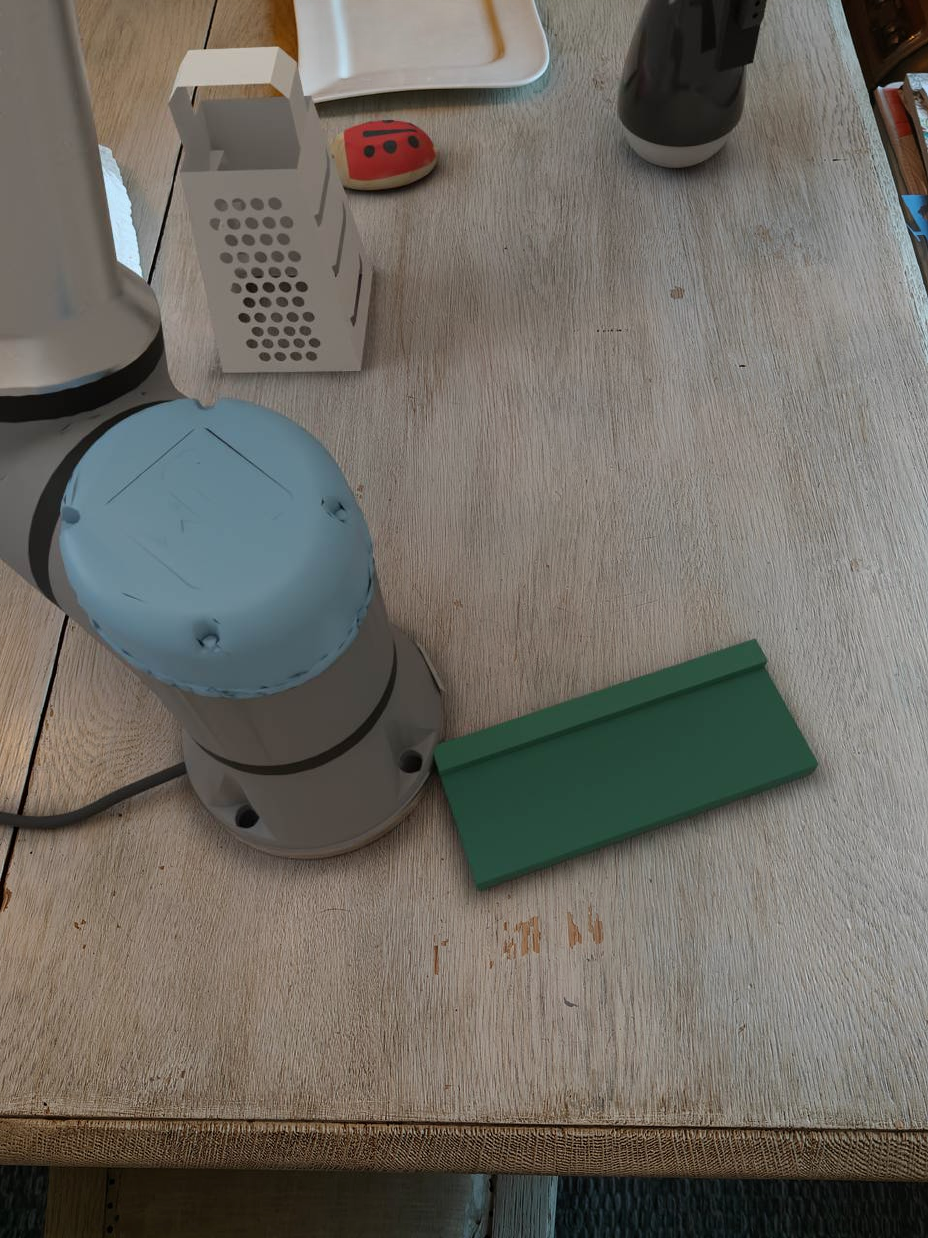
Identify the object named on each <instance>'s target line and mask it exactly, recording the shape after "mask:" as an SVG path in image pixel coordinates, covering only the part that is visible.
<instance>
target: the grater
mask: <svg viewBox="0 0 928 1238" xmlns="http://www.w3.org/2000/svg"><path fill="white" fill-rule="evenodd" d="M179 65H180V66H178V67H179V68H178V70H177V74H176V77H175V80H174V84H173V87H172V90H171V93H170V96H169V100H168V102H167V104H168V105H167V106H168V108H169V111H170V114H171V116H172V119H173V122H174V125H175V128H176V130H177V134H178V136H179V138H180V142H181V145H182V148H183V151H184V157H183V160H182V164H181V166H180V171H179V175H180V180H181V183H182V184H181V185H182V188H183V192H184V197H185V203H186V207H187V212H188V216H189V221H190V226H191V231H192V234H193V240H194V245H195V249H196V253H197V259H198V263H199V269H200V272H201V277H202V281H203V287H204V291H205V296H206V300H207V305H208V309H209V313H210V314H209V315H210V319H211V323H212V328H213V334H214V337H215V342H216V347H217V352H218V356H219V361H220V366H221V370H222V374H236V373H237V374H244V373H245V374H247V373H251V374H252V373H307V372H308V373H309V372H310V373H312V372H313V373H314V372H315V373H316V372H317V373H319V372H320V373H321V372H361V371H362V364H363V363H362V362H363V356H364V355H363V354H364V348H365V339H366V331H367V325H368V324H367V323H368V315H369V308H370V299H371V292H372V284H373V275H374V272H373V269H372V266H371V263H370V260H369V258H368V254H367V252H366V249H365V246H364V243H363V241H362V238H361V234H360V231H359V228H358V225H357V223H356V221H355V217H354V214H353V211H352V208H351V206H350V203H349V200H348V197H347V195H346V191H345V187H344V186H343V185H342V183H341V180H340V177H339V174H338V171H337V168H336V165H335V162H334V160H333V157H332V154H331V151H330V148H329V147H330V145H329V143H328V139H327V137H326V134H325V132H324V131H325V130H324V129H323V125H322V121H321V119H320V117H319V114H318V111H317V108H316V105H315V103H314V99H313V97H312V95H304V89H303V85H302V80H301V75H300V71H299V66H298V62H297V61H296V60H295V59H293V57H292V56H290V55H289V54H288V53H286V52H285V51H284V50H283V49H282V48H281V46H259V47H258V46H256V47H233V48H210V49H209V48H206V49H188V51H187V52H186V55H185V56H184V58H183V60H182V62H181V64H179ZM259 84H261V85H263V84H270V85H272V87H274V88H275V89H276V90H277V91H279V92H280V93H281V94H282V95H283V96H268V97H267V96H266V97H263V96H262V97H240V98H239V97H237V98H236V97H235V98H213V99H212V98H211V99H207V98H206V99H200V101H199V105H198V109H197V112H196V114H195V110H194V107H193V104H192V101H191V98H190V96H189V95H190V94H189V92H188V89H187V87H207V86H234V85H259ZM220 223H222V228H221V229H219V228H220V225H221V224H220ZM360 274H361V283H360V289H359V298H358V304H357V310H356V311H357V312H356V319H355V323H354V325H353V322H352V319H351V318H352V317H353V316H354V315H355V308H356V300H357V292H358V285H359V276H360ZM288 275H289V276H288ZM290 275H293V276H294V275H295V276H294V277H291V276H290ZM255 276H262V277H259V278H258V277H255ZM273 276H279V277H273ZM284 282H285V283H287V284H289V285H290V289H291V290H290V291H287V292H285V291H282V290H281V289H280V284H281V283H284ZM299 282H303V283H305V284H306V286H307V290H306V291H299V290H298V289H297V288H296V284H297V283H299ZM250 283H252V284H254V285H255V286H257V291H256V292H250V291H249V290H248V289H247V287H246V285H247V284H250ZM265 283H270V284H272V285H273V286H274V291H273V292H267V291H266V290H265V289H264V288H263V286H264V284H265ZM230 285H231V287H230ZM295 297H299V298H301V299H302V300H303V302H304V304H302V306H297V305H296V304H294V303H293V299H294V298H295ZM246 298H250V299H252V300H253V301H254V302H255V305H254V306H253V307H248V306H246V305H245V303H244V300H245V299H246ZM261 298H267V299H269V301H270V302H271V305H270V306H268V307H266V306H263V305H261V303H260V299H261ZM278 298H284V299H286V300H287V302H288V304H287V305H286V306H280V305H279V304H278V303H277V299H278ZM258 313H259V314H263V315H264V316H265V321H264V322H259V321H258V320H256V319H255V315H256V314H258ZM273 313H277V314H280V315H281V317H282V320H281V321H279V322H277V321H274V320H273V319H272V314H273ZM289 313H294V314H296V315H297V317H298V320H297V321H290V320H289V319H288V318H287V315H288V314H289ZM305 313H311V314H313V316H314V319H313V320H312V321H306V320H305V319H304V317H303V315H304V314H305ZM240 314H246V315H247V316H249V318H250V320H249V322H243V321H242V320H240V319H239V315H240ZM271 327H274V328H276V329H277V330H278V331H279V332H278V334H277V335H271V334H270V333H269V332H268V329H269V328H271ZM286 327H291V328H293V329H294V331H295V333H294V334H293V335H288V334H286V333H285V331H284V329H285V328H286ZM301 327H307V328H309V329H310V334H308V335H303V334H302V333H301V332H300V328H301ZM254 328H260V329H261V330H262V331H263V334H262V335H261V336H257V335H255V334H254V333H253V329H254ZM281 339H284V340H286V341H287V342H288V344H289V346H288V347H285V348H284V347H281V346H280V345H279V341H280V340H281ZM296 339H300V340H302V341H303V342H304V346H303V347H297V346H296V345H295V344H294V341H295V340H296ZM311 339H317V341H319V342H320V343H319V344H320V345H319V346H317V347H313V346H311V345H310V343H309V341H310V340H311ZM248 340H249V341H250V340H254V341H255V342H256V343H257V347H256V348H255V347H254V348H251V347H250V346H248V344H247V342H248ZM264 340H270V341H271V342H272V343H273V345H272V346H271V348H269V347H268V348H267V347H265V346H264V344H263V343H262V342H263V341H264ZM294 352H295V353H299V354H300V355H301V359H300V360H294V359H293V358H292V357H291V354H292V353H294ZM309 352H312V353H314V354H315V355H316V359H313V360H311V359H308V358H307V357H306V354H307V353H309ZM261 353H266V354H267V355H269V356H270V359H269V360H267V361H265V360H263V359H261V358H260V354H261ZM277 353H282V354H283V355H285V359H284V360H282V361H281V360H278V359H277V358H276V357H275V354H277Z"/></svg>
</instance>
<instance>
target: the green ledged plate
mask: <svg viewBox="0 0 928 1238" xmlns="http://www.w3.org/2000/svg"><path fill="white" fill-rule="evenodd" d="M767 663H768V658H767V657H766V654H765V653H764V651H763V649H762V647H761V646H760V644H759V641H758V640H757V639H756V638H752V639H750V640H746V641H743V642H740V643H737V644H734V645H731V646H728V647H725V648H722V649H719V650H716V651H713V652H710V653H707V654H704V655H701V656H699V657H695V658H691V659H688V660H685V661H683V662H680V663H677V664H674V665H671V666H668V667H666V668H661V669H659V670H656V671H653V672H649V673H647V674H643V675H641V676H638V677H635V678H633V679H630V680H627V681H623V682H620V683H618V684H617V683H616V684H615V685H611V686H608V687H605V688H602V689H599V690H596V691H593V692H590V693H588V694H585V695H582V696H581V695H580V696H578V697H576V698H573V699H569V700H566V701H564V702H560V703H557V704H555V705H552V706H549V707H545V708H543V709H540V710H539V709H538V710H536V711H534V712H531V713H528V714H524V715H522V716H518V717H515V718H512V719H509V720H506V721H504V722H501V723H497V724H494V725H492V726H488V727H486V728H482V729H479V730H477V731H474V732H471V733H468V734H465V735H461V736H459V737H456V738H453V739H449V740H447V741H445V742H444V743H441V744H438V745H436V747H435V750H434V753H433V755H434V759H435V762H436V766H437V774H438V776H439V779H440V783H441V786H442V788H443V790H444V794H445V797H446V800H447V803H448V806H449V810H450V812H451V815H452V819H453V821H454V824H455V827H456V831H457V833H458V837H459V839H460V842H461V845H462V848H463V851H464V854H465V856H466V860H467V863H468V865H469V868H470V872H471V874H472V877H473V880H474V884H475V887H476V889H477V891H478V892H481V891H483V890H487V889H488V888H491V887H494V886H497V885H500V884H503V883H505V882H508V881H511V880H514V879H518V878H520V877H523V876H526V875H529V874H531V873H535V872H537V871H540V870H542V869H546V868H548V867H551V866H554V865H557V864H560V863H563V862H565V861H568V860H571V859H575V858H577V857H580V856H582V855H585V854H588V853H591V852H594V851H596V850H600V849H603V848H606V847H608V846H611V845H614V844H617V843H619V842H622V841H625V840H629V839H631V838H633V837H636V836H639V835H642V834H645V833H648V832H651V831H654V830H656V829H659V828H662V827H665V826H667V825H668V826H669V825H670V824H674V823H676V822H679V821H682V820H685V819H687V818H690V817H694V816H696V815H699V814H701V813H705V812H708V811H710V810H713V809H716V808H719V807H721V806H722V807H723V806H725V805H728V804H730V803H734V802H736V801H739V800H742V799H744V798H747V797H750V796H753V795H756V794H758V793H761V792H764V791H767V790H770V789H773V788H775V787H776V788H777V787H778V786H781V785H784V784H788V783H790V782H793V781H795V780H798V779H799V780H800V779H801V778H804V777H806V776H810V775H812V774H813V773H814V772H815V771H816V769H817V768H818V767H819V762H818V760H817V759H816V756H815V755H814V753H813V751H812V750H811V747H810V746H809V744H808V742H807V740H806V739H805V737H804V735H803V733H802V731H801V730H800V728H799V726H798V724H797V721H795V719H794V717H793V714H792V713H791V711H790V710H789V708H788V706H787V704H786V702H785V700H784V699H783V697H782V695H781V693H780V691H779V690H778V688H777V686H776V684H775V683H774V681H773V679H772V677H771V675H770V673H769V672H768V670H767V668H766V665H767Z"/></svg>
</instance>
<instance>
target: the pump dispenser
mask: <svg viewBox="0 0 928 1238" xmlns="http://www.w3.org/2000/svg"><path fill="white" fill-rule="evenodd" d="M724 2H725V0H646V1H645V3H644V6H643V8H642V10H641V13H640V14H639V15H640V16H639V18H638V21H637V23H636V26H635V28H634V31H633V35H632V37H631V39H630V43H629V47H628V48H627V49H628V50H627V52H626V56H625V60H624V64H623V68H622V72H621V76H620V82H619V86H618V91H617V100H616V112H617V113H616V114H617V116H618V119H619V121H620V123H621V127H622V131H623V134H624V136H625V139H626V141H627V143H628V144H629V146H630V147H631V148H632V150H633V151H634V152H635V153H636V154H637V155H638V156H639V157H640V158H642V159H644V160H645V161H646V162H648V163H651V164H652V165H656V166H659V167H662V168H669V169H670V168H672V169H679V168H680V169H681V168H687V167H693V166H695V165H698V164H701V163H702V162H705V161H706V160H708V159H710V158H712V157H713V156H714V155H716V153H717V152H719V151H720V149H722V148H723V146H724V145H725V144H726V142H727V141H728V139H729V138H730V136H731V134H732V133H733V131H734V129H735V128H736V127H737V126H738V125H739V123H740V121H741V120H742V117H743V114H744V109H745V104H746V98H747V82H748V81H747V80H748V64H747V65H744V66H740V67H736V68H733V69H729V70H726V71H722V72H718V71H717V70H716V69H715V67H714V64H715V58H716V52H717V45H718V39H719V33H720V27H721V21H722V14H723V8H724Z"/></svg>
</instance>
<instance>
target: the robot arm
mask: <svg viewBox="0 0 928 1238" xmlns="http://www.w3.org/2000/svg"><path fill="white" fill-rule="evenodd" d="M767 2H768V0H725V2H724V8H723V14H722V21H721V27H720V33H719V39H718V45H717V52H716V58H715V64H714V67H715V69H716V70H717V71H718V72H722V71H726V70H729V69H733V68H736V67H740V66H744V65H747V66H748V65H750V64H754V60H755V57H756V56H755V55H756V50H757V45H758V40H759V34H760V30H761V25H762V22H763V20H764V17H765V13H766V7H767ZM85 60H86V59H85V53H84V48H83V41H82V35H81V29H80V23H79V17H78V10H77V3H76V0H0V560H1V561H2V562H3V563H5V564H6V566H8V567H9V568H11V569H12V570H13V571H14V572H15V573H16V574H17V575H18V576H20V577H21V578H22V579H23V580H24V581H25V582H27V583H28V584H29V585H30V586H32V587H33V588H34V589H35V590H36V591H38V592H39V594H41V595H42V596H43V597H44V598H46V600H48V601H50V602H51V603H52V604H53V605H55V606H56V607H57V608H58V609H60V610H61V611H62V612H63V613H64V614H65V615H66V616H67V617H69V618H70V619H71V620H72V621H74V623H76V624H77V625H78V626H79V627H80V628H81V629H83V630H84V632H86V633H87V634H88V635H89V636H91V637H92V638H93V639H94V640H95V641H96V642H98V643H99V644H100V645H101V646H102V647H103V648H105V650H107V651H108V652H109V653H110V654H111V655H113V656H114V657H115V658H116V659H117V660H119V661H120V662H121V663H122V664H123V665H124V666H126V668H127V669H129V670H130V671H131V672H132V673H133V674H134V675H135V676H137V678H138V679H140V681H142V683H144V685H146V686H147V687H148V688H149V689H150V690H151V691H152V692H153V693H154V694H155V696H156V697H157V698H158V699H159V700H160V701H161V703H162V704H163V706H165V708H166V709H167V710H168V711H169V713H170V714H171V715H172V716H173V717H174V718H175V720H176V721H177V722H178V724H180V726H181V744H182V745H181V746H182V747H181V749H182V750H181V751H182V757H183V761H181V762H179V763H177V764H174V765H171V766H169V767H166V768H165V769H163V770H162V769H161V770H160V771H158V772H155V773H153V774H150V775H148V776H146V777H143V778H141V779H139V780H136V781H134V782H132V783H128V784H127V785H125V786H123V787H122V786H121V787H120V788H118V789H116V790H114V791H112V792H110V793H108V794H106V795H105V796H102V797H100V798H98V799H97V800H95V801H93V802H91V803H89V804H87V805H85V806H83V807H80V808H78V809H75V810H72V811H69V812H65V813H60V814H54V815H53V814H52V815H38V816H37V815H23V814H16V813H11V812H6V811H2V810H1V811H0V825H4V826H9V827H16V828H23V829H35V830H37V829H39V830H41V829H43V830H44V829H54V828H62V827H67V826H71V825H75V824H78V823H80V822H83V821H86V820H88V819H91V818H93V817H95V816H97V815H99V814H101V813H103V812H105V811H106V810H108V809H111V808H112V807H114V806H116V805H117V804H121V803H122V802H124V801H126V800H128V799H130V798H132V797H135V796H137V795H140V794H142V793H144V792H146V791H149V790H151V789H153V788H156V787H159V786H161V785H163V784H165V783H168V782H171V781H173V780H175V779H177V778H180V777H183V776H184V775H187V778H188V781H189V783H190V786H191V788H192V789H193V791H194V793H195V796H196V797H197V798H198V800H199V801H200V803H201V804H202V806H203V807H204V808H205V809H206V811H207V812H208V813H209V814H210V815H211V817H212V818H213V819H214V820H215V821H216V822H217V823H218V824H219V825H220V826H221V827H222V828H224V830H225V831H227V833H229V834H230V835H232V836H233V837H234V838H236V839H237V840H238V841H239V842H242V843H243V844H245V845H247V846H249V847H251V848H253V849H255V850H258V851H259V852H263V853H266V854H269V855H271V856H275V857H281V858H287V859H296V860H317V859H326V858H330V857H335V856H340V855H343V854H347V853H350V852H353V851H356V850H359V849H361V848H363V847H365V846H367V845H369V844H371V843H373V842H375V841H377V840H378V839H380V838H382V837H383V836H385V835H386V834H388V833H389V832H390V831H392V830H393V829H394V828H396V827H397V826H398V825H400V823H402V821H403V822H404V820H405V819H406V818H407V817H408V816H409V815H410V814H411V813H412V812H413V811H414V810H415V808H416V807H417V806H418V805H419V804H420V802H421V801H422V799H423V798H424V797H425V795H426V793H427V792H428V790H429V788H431V785H432V784H433V781H434V779H435V777H436V774H437V773H438V771H437V766H436V762H435V759H434V755H433V753H434V750H435V747H436V745H438V744H441V743H444V742H446V725H447V724H446V713H445V708H444V702H443V698H442V697H443V696H442V691H443V692H444V693H447V691H446V689H445V686H444V684H443V682H442V681H441V679H440V677H439V675H438V673H437V671H436V669H435V667H434V665H433V663H432V661H431V658H430V657H429V654H428V653H427V650H426V648H425V647H424V646H423V645H422V644H421V643H419V642H418V641H416V643H417V644H416V643H415V642H414V641H413V640H412V639H411V638H410V637H409V636H408V635H407V634H406V633H405V632H403V631H402V630H400V628H398V627H397V626H395V625H394V624H393V623H392V622H390V618H389V615H388V611H387V607H386V603H385V600H384V596H383V592H382V588H381V585H380V580H379V576H378V571H377V567H376V561H375V559H374V555H373V554H374V553H373V552H374V549H373V548H374V546H373V540H372V539H373V538H372V535H371V531H370V529H369V525H368V523H367V521H366V519H365V516H364V515H365V514H364V512H363V510H362V508H361V507H360V505H359V504H358V501H357V498H356V496H355V493H354V491H353V489H352V488H351V487H350V486H349V483H348V479H347V478H346V476H345V474H344V472H343V471H342V469H341V467H340V466H339V464H338V462H337V461H336V459H335V458H334V456H333V455H331V453H330V452H329V450H328V449H327V448H326V446H324V445H323V443H322V442H320V440H318V439H317V438H316V436H314V435H313V434H312V433H310V431H309V430H307V429H306V428H305V427H303V425H301V424H299V423H298V422H296V421H295V420H293V419H291V418H290V417H288V416H286V415H284V414H282V413H280V412H279V411H277V410H274V409H273V408H269V407H266V406H263V405H261V404H257V403H255V402H252V401H247V400H242V399H237V398H230V397H219V398H218V400H217V402H216V403H215V404H214V405H206V406H205V405H202V403H201V402H200V400H198V398H196V397H190V398H189V397H188V396H187V395H185V394H184V393H182V392H181V391H179V390H178V389H177V388H176V386H175V384H174V382H173V381H172V379H171V376H170V372H169V367H168V366H169V365H168V358H167V352H166V343H165V338H164V337H165V336H164V331H163V322H162V315H161V314H162V313H161V308H160V304H159V301H158V298H157V296H156V293H155V291H154V289H153V288H152V287H151V285H150V284H149V283H148V282H147V281H146V279H144V278H143V277H142V276H141V275H139V274H138V273H137V272H136V271H134V270H133V269H131V268H130V267H128V266H127V265H125V264H124V263H122V262H121V261H119V260H118V257H117V256H118V255H117V250H116V245H115V239H114V238H115V237H114V232H113V225H112V220H111V213H110V207H109V201H108V195H107V189H106V188H107V187H106V183H105V177H104V171H103V165H102V159H101V152H100V147H99V140H98V133H97V128H96V121H95V115H94V109H93V102H92V97H91V91H90V85H89V78H88V72H87V66H86V61H85ZM441 690H442V691H441Z"/></svg>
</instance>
